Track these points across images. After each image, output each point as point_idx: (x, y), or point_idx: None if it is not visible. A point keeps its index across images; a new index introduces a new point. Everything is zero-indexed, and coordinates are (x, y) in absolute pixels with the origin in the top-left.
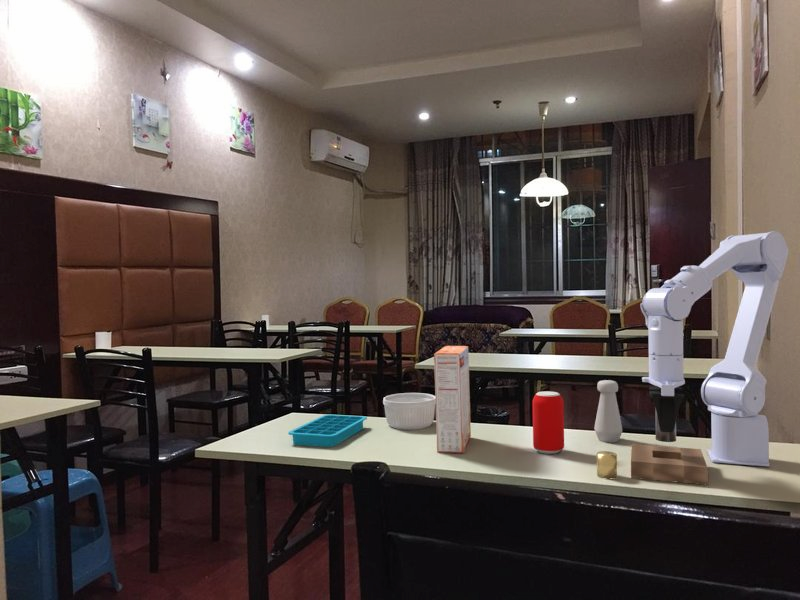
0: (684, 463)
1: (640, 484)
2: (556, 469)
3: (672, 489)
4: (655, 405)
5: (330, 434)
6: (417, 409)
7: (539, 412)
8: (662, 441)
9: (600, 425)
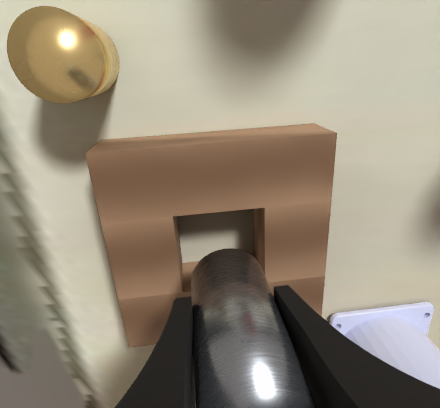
0: (142, 299)
1: (52, 171)
2: None
3: (57, 249)
4: (118, 405)
5: None
6: None
7: None
8: (193, 273)
9: None
